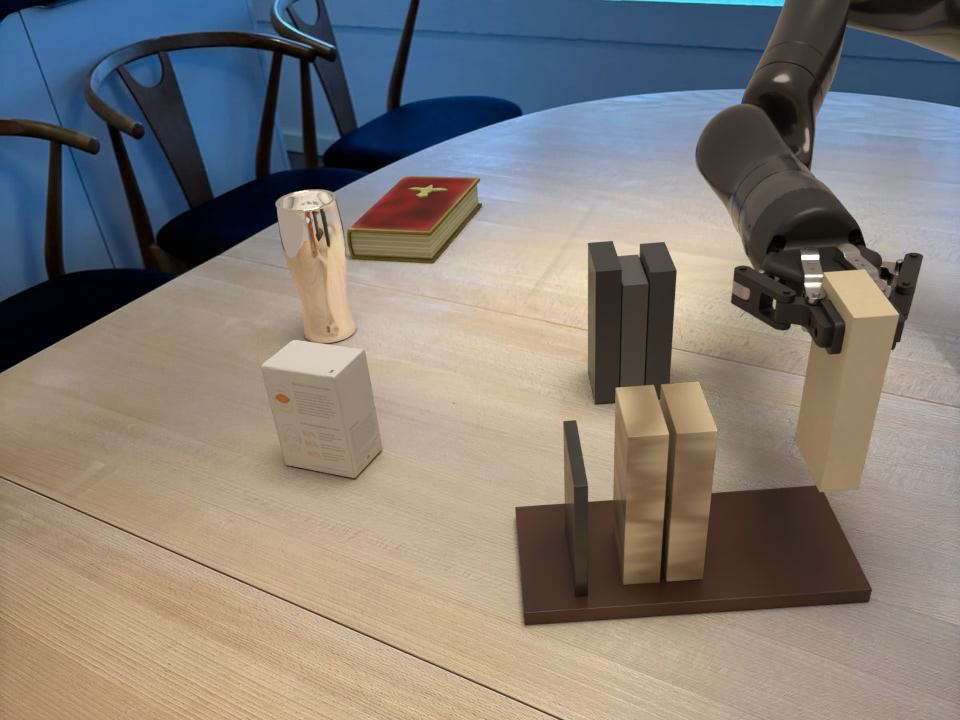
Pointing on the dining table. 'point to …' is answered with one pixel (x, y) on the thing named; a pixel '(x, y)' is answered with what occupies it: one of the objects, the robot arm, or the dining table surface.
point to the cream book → (846, 383)
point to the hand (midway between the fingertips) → (865, 338)
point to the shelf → (733, 568)
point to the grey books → (629, 318)
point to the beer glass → (317, 262)
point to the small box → (323, 407)
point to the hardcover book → (415, 219)
